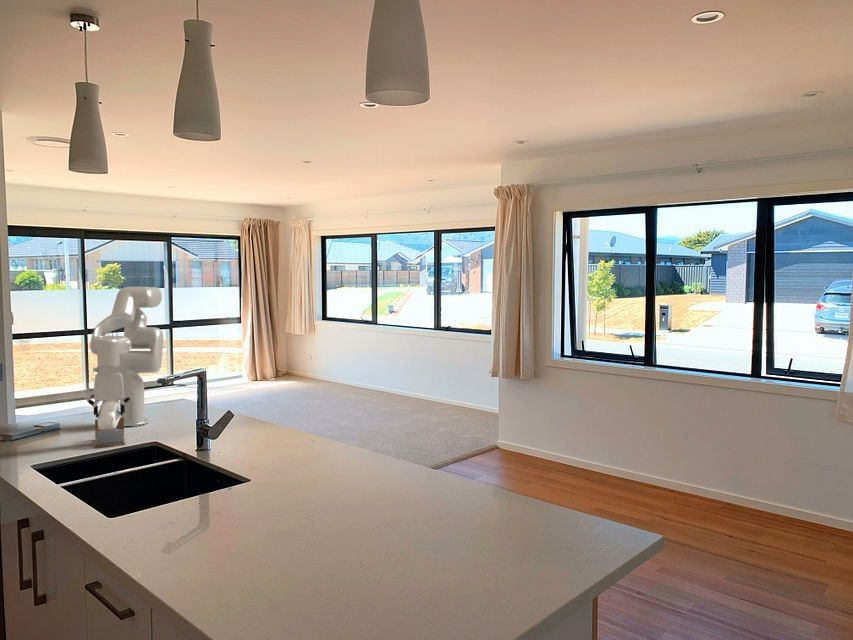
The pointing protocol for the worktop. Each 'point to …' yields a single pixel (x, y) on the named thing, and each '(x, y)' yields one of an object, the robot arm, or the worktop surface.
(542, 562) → the worktop surface
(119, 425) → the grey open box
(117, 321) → the robot arm
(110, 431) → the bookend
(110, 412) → the figurine
